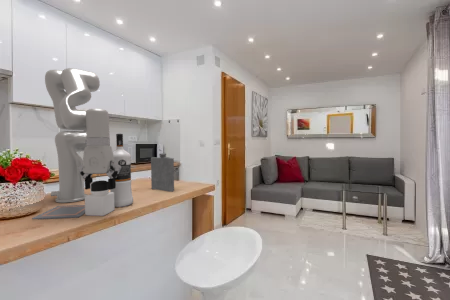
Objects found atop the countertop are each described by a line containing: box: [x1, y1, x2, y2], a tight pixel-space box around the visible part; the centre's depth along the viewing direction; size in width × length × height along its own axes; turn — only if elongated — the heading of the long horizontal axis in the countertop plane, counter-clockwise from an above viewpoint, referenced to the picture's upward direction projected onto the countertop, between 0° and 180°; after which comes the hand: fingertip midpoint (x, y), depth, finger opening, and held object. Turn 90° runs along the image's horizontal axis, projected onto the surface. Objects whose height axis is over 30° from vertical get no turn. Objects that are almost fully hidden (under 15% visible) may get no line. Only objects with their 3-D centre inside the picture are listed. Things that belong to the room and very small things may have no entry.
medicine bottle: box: [84, 180, 116, 217], centre depth 86 cm, size 7×7×12 cm
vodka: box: [109, 133, 134, 208], centre depth 97 cm, size 9×9×30 cm
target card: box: [31, 204, 85, 220], centre depth 87 cm, size 15×15×1 cm
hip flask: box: [150, 152, 175, 193], centre depth 126 cm, size 16×4×20 cm, turn 59°
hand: (100, 188), depth 85 cm, fingers open, 9 cm apart
